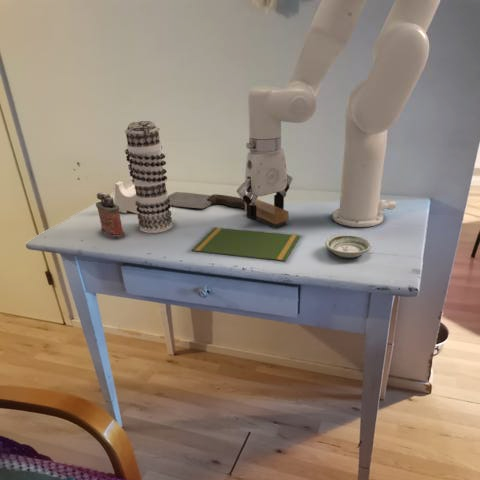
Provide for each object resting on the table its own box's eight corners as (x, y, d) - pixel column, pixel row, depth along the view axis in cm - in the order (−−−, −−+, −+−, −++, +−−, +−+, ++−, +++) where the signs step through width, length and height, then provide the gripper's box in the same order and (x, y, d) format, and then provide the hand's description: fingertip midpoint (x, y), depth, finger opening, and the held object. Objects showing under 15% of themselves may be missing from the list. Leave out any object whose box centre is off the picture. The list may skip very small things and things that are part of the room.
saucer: (376, 261, 94) (377, 250, 93) (331, 264, 94) (332, 254, 93) (361, 243, 103) (363, 233, 101) (320, 246, 102) (320, 236, 101)
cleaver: (260, 205, 127) (259, 198, 126) (244, 216, 120) (243, 209, 118) (174, 195, 139) (173, 188, 138) (155, 204, 132) (153, 197, 131)
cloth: (300, 236, 107) (300, 235, 107) (285, 261, 96) (285, 260, 96) (214, 228, 114) (214, 227, 114) (191, 251, 103) (191, 249, 103)
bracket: (137, 216, 126) (140, 191, 122) (114, 209, 127) (115, 183, 122) (154, 201, 137) (157, 177, 132) (132, 195, 137) (134, 171, 133)
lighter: (127, 236, 112) (120, 196, 107) (115, 240, 110) (107, 200, 105) (110, 228, 117) (102, 190, 112) (98, 232, 115) (90, 193, 110)
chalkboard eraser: (257, 211, 123) (256, 198, 121) (288, 225, 114) (288, 211, 112) (245, 215, 121) (244, 202, 119) (276, 228, 112) (276, 214, 110)
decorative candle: (134, 224, 119) (116, 122, 105) (168, 218, 122) (155, 118, 108) (143, 236, 112) (124, 128, 98) (178, 229, 115) (165, 123, 101)
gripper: (245, 153, 101) (247, 227, 110) (303, 141, 109) (300, 211, 118) (226, 148, 106) (229, 219, 115) (283, 137, 114) (282, 204, 123)
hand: (265, 214), depth 117 cm, fingers open, 8 cm apart
